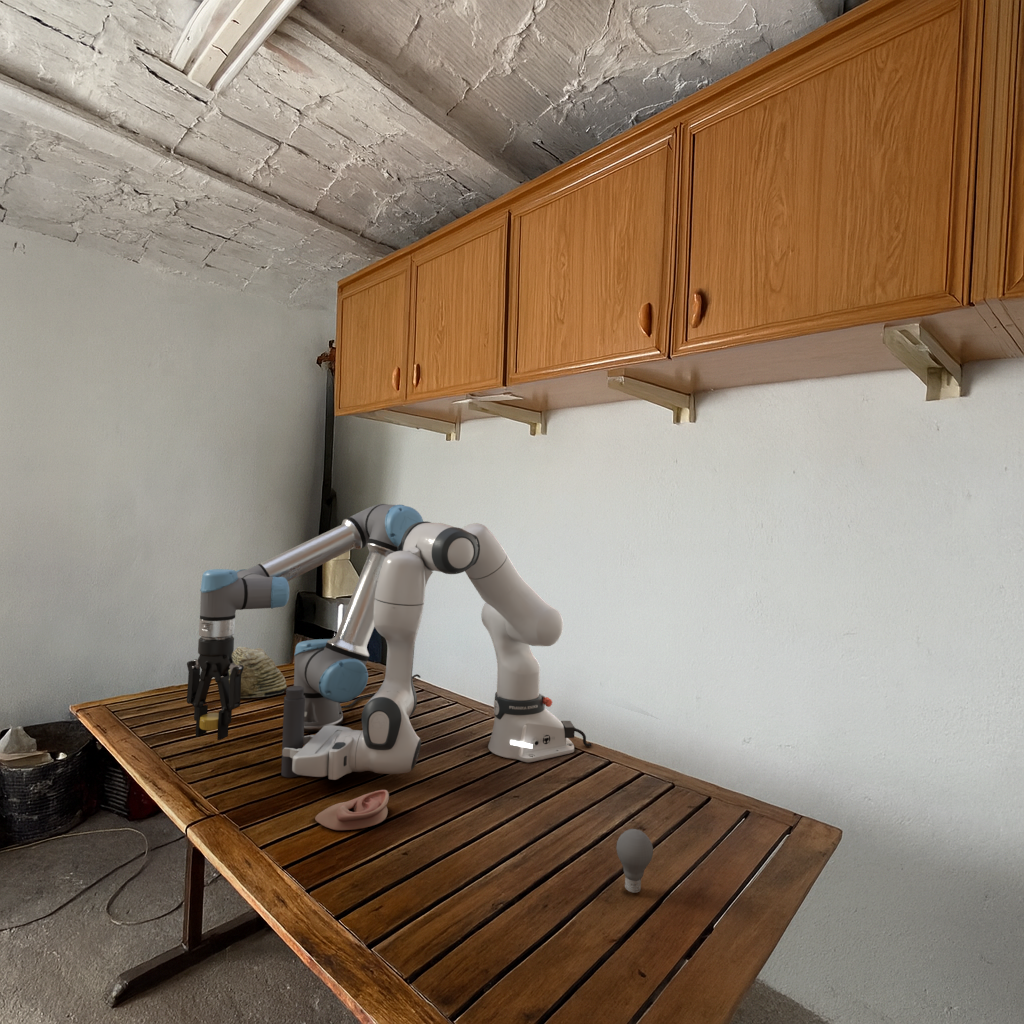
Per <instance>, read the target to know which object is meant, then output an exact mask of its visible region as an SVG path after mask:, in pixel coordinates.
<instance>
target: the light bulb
mask: <svg viewBox="0 0 1024 1024" xmlns="http://www.w3.org/2000/svg"><path fill="white" fill-rule="evenodd" d="M615 849H616V854H617V857H618V859H619V861H620V863H621V865H622V867H623V873H624V874H623V875H624V876H625V878H624V888H625V890H627V891H628V892H630V893H634V894H635V893H639V892H640V891H641V889H642V887H641V886H642V879H643V877H644V875H645V871H646V868H647V867H648V866H649V864H650V863H651V861H652V859H653V855H654V847H653V843H652V841H651V838H649V836H648V835H647V834H646V833H645V832H643V831H642V830H641V829H636V828H629V829H627V830H625V831H623V832H622V833H621V834H620V835H619V837H618V839H617V841H616V847H615Z"/></svg>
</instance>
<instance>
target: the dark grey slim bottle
mask: <svg viewBox="0 0 1024 1024" xmlns="http://www.w3.org/2000/svg"><path fill="white" fill-rule="evenodd" d="M303 694H304V687H302V686H294V685H291V686H287V687H286V690H285V696H284V697H283V716H282V717H283V719H282V721H283V722H282V724H283V725H282V744H281V746H282V747H281V751H282V750H283V749H284V748H285V747H286V746H293V748H294V749H298V748H301V749H302V748H303V747H304V745H303V742H304V736H305V732H304V716H305V696H304V695H303ZM292 762H293V759H292V758H290V757H284V756H283V755H282V754H281V772H280V774H281V776H282V777H283V778H289V779H291V778H292V779H293V778H296V777H299V776H300V775H298V774H295V773H294V772H293V771H292Z"/></svg>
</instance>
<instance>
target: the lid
mask: <svg viewBox="0 0 1024 1024" xmlns="http://www.w3.org/2000/svg"><path fill="white" fill-rule="evenodd" d="M218 715H219V712H210V713H207V714H205V715H202V716H201V717H200V724H199V727H200V729H202V730H207V731H215V730H218Z"/></svg>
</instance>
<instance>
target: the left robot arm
mask: <svg viewBox="0 0 1024 1024" xmlns="http://www.w3.org/2000/svg"><path fill="white" fill-rule="evenodd" d="M418 522H425V520H424V519H423V517H422V515H421V513H420V512H419V511H418V510H417V509H415V508H414V507H411V506H407V505H405V504H388V503H387V504H386V503H378V504H374V505H371V506H369V507H366V508H365V509H363V510H361V511H359V512H357V513H355V514H353V515H351V516H349V517H346V518H343V520H342V522H341V525H337V526H336V527H334V528H331V529H330V530H327V531H326V532H323V533H321V534H319V535H317V536H315V537H312V538H311V539H309V540H306V541H304V542H302V543H300V544H298V545H296V546H294V547H292V548H290V549H288V550H285V551H283V552H281V553H279V554H277V555H274V556H273V557H271V558H268V559H266V560H264V561H262V562H259V563H258V564H255V565H253V566H251V567H249V568H243V569H238V570H235V569H229V568H228V569H227V568H214V569H207V570H205V571H204V572H203V573H202V576H201V583H200V589H199V591H200V604H199V606H200V607H199V625H198V635H199V636H200V637H199V638H198V643H197V644H198V645H197V654H198V655H199V656H198V657H197V658H195V659H192V660H189V661H187V662H186V666H187V671H188V675H187V691H186V703H187V704H188V705H192V707H194V711H193V719H194V721H195V722H196V723H195V738H199V737H201V736H203V735H205V734H207V732H208V730H202V729H200V727H199V724H200V717H201V716H202V715H205V714H208V711H209V709H208V708H209V705H207V698H208V693H209V690H210V686H211V683H212V680H213V678H214V681H215V683H216V684H217V689H218V696H219V701H220V707H221V709H219V711H218V713H219V715H218V729H217V737H216V739H217V741H221V740H224V739H226V738H228V737H229V726H230V724H231V723H232V717H233V716H232V715H233V714H232V713H233V711H234V710H235V709H238V708H239V707H241V699H242V698H241V674H242V671H243V669H244V666H243V665H239V666H238V665H236V664H235V663H233V659H232V653H233V652H234V651H235V650H234V648H235V638H234V635H235V632H236V611H243V610H260V609H262V610H263V609H273V610H274V609H275V608H283V607H285V606H287V604H288V602H289V599H290V584H289V582H290V581H291V580H294V579H296V578H298V577H299V576H302V575H304V574H306V573H308V572H309V571H311V570H314V569H316V568H318V567H320V566H322V565H323V564H324V565H325V564H327V562H329V561H332V560H334V559H336V558H337V557H340V556H342V555H344V554H345V553H349V551H352V550H357V551H359V550H362V549H363V548H367V549H368V551H369V553H368V555H367V557H366V560H365V563H364V565H363V567H362V570H361V572H360V575H359V578H358V580H357V582H356V585H355V587H354V590H353V591H352V594H351V597H350V599H349V602H348V604H347V607H346V609H345V612H344V614H343V617H342V620H341V621H340V624H339V627H338V629H337V632H336V634H335V636H333V637H332V638H323V639H322V638H319V639H307V640H303V641H299V642H297V644H296V645H295V650H294V653H293V654H294V655H293V656H294V672H293V686H302V687H304V694H303V695H304V696H305V716H304V733H318V732H319V731H320V730H321V729H322V728H323V727H324V726H327V725H334V726H341V725H342V723H343V722H344V714H343V709H349V708H350V707H353V705H355V704H356V703H357V702H359V701H360V700H363V699H367V698H372V697H373V696H374V695H375V694H376V693H371V694H366V695H363V696H360V695H362V693H363V691H364V690H365V688H366V686H367V684H368V680H369V672H368V669H367V663H368V660H369V657H370V653H369V650H368V648H367V647H368V644H369V642H370V639H371V637H372V635H373V632H374V629H375V626H374V614H373V611H374V600H375V593H376V587H377V582H378V578H379V574H380V570H381V567H382V564H383V561H384V559H385V558H386V557H387V556H388V555H389V554H391V553H393V552H396V551H398V546H399V544H400V543H401V540H402V537H403V535H404V533H405V531H406V530H407V529H408V528H409V527H410V526H411V525H413V524H415V523H418ZM399 551H400V549H399ZM229 669H230V672H229ZM229 673H230V674H231V675H230V676H229ZM416 677H417V678H418V679H420V678H421V675H420V674H417V673H416V674H414V675H412V680H413V679H415V678H416ZM229 678H230V684H229ZM352 700H354V701H352ZM351 701H352V703H350V704H347V705H341V703H347V702H351Z"/></svg>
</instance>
